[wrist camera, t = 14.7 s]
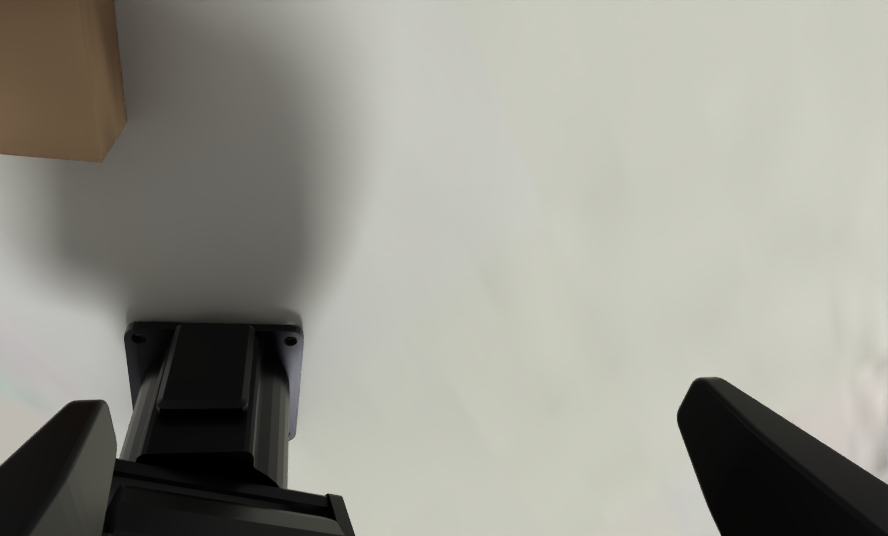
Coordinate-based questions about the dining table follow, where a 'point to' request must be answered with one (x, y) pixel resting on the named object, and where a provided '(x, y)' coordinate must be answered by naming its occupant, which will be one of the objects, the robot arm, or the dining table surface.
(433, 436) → the dining table surface
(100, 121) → the brown wooden slab
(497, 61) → the dining table surface
